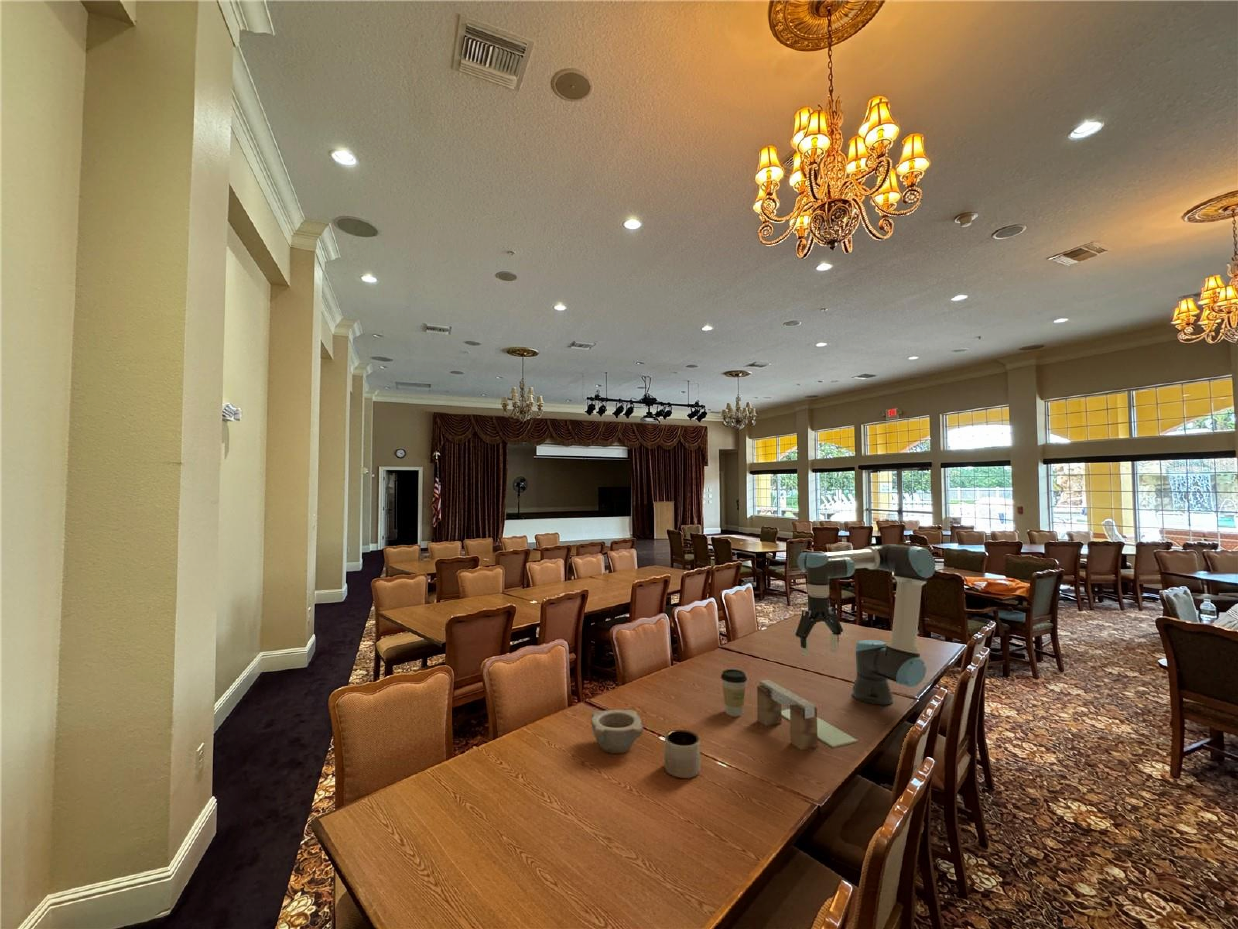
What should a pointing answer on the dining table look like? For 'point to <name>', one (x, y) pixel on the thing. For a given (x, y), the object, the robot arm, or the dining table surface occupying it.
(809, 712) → the rail
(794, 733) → the post
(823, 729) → the mat
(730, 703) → the coffee cup
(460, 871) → the dining table surface
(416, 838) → the dining table surface
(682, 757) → the planter
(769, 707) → the post
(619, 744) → the mortar
